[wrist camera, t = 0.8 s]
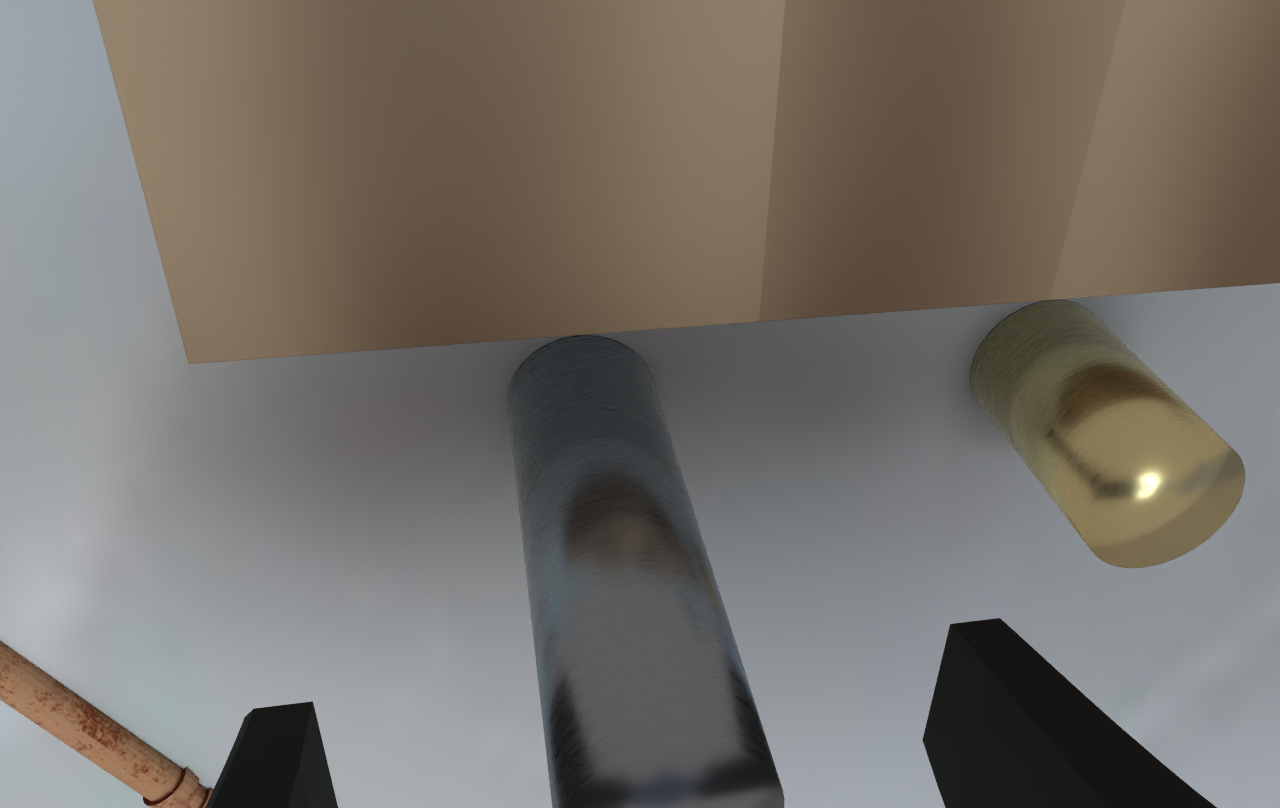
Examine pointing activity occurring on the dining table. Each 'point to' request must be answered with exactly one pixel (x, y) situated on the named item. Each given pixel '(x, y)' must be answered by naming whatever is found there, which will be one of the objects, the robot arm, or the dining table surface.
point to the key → (96, 735)
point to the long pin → (625, 597)
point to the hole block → (685, 160)
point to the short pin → (1105, 435)
